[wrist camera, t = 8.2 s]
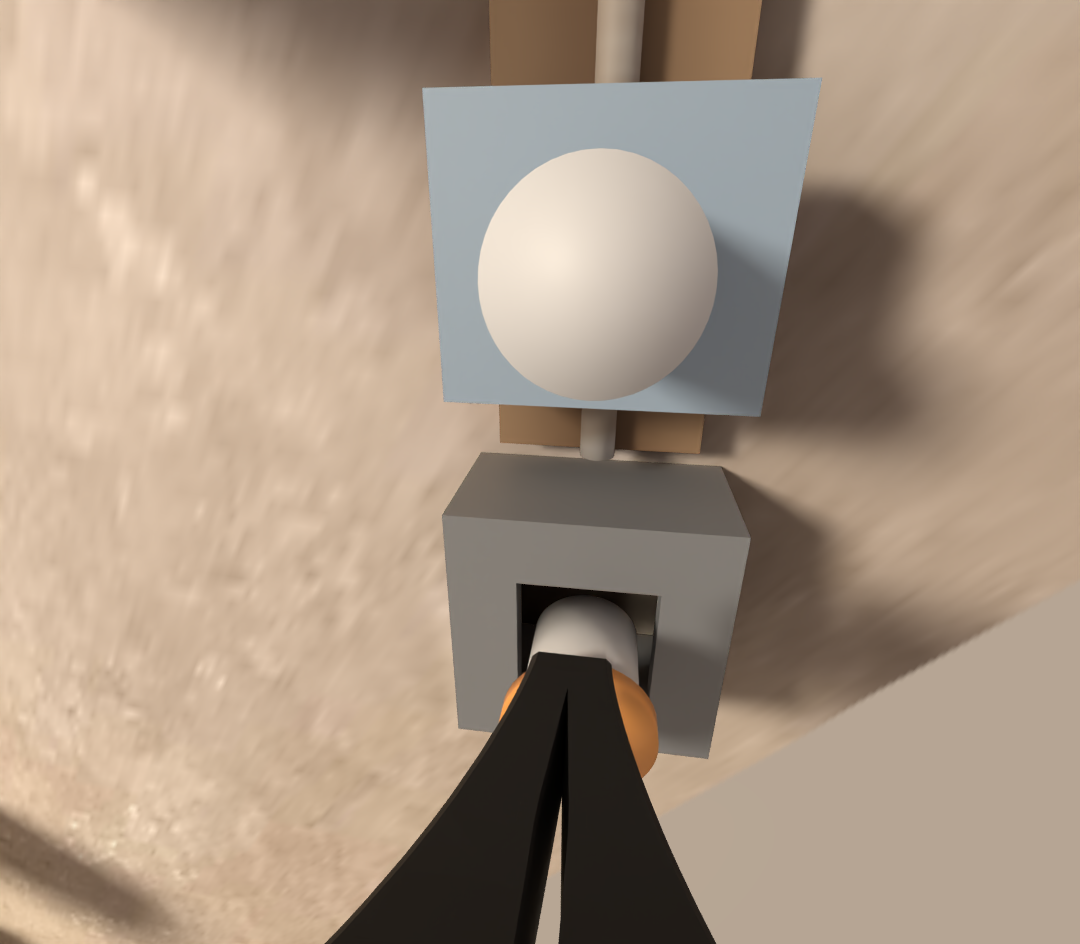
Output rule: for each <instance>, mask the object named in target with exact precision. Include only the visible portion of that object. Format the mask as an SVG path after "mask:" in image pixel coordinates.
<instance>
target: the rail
mask: <svg viewBox="0 0 1080 944" xmlns="http://www.w3.org/2000/svg"><path fill="white" fill-rule="evenodd" d="M761 5H762V0H489V25H490V65H491V86H514V85H554V84H594V83H634V82H674V81H714V80H751V77H752V70H753V63H754V56H755V48H756V41H757V34H758V27H759V19H760V12H761ZM499 416H500V443H516V444H534V445H552V446H570V447H580V455H581V457H583V458H585V459H588V460H592V461H605V460H609V459H612V458H613V457H614V449H623V450H641V451H659V452H677V453H695V454H700V446H701V439H702V432H703V425H704V418H705V414H694V413H673V412H652V411H630V410H609V409H588V408H567V407H546V406H525V405H503V404H499Z"/></svg>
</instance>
